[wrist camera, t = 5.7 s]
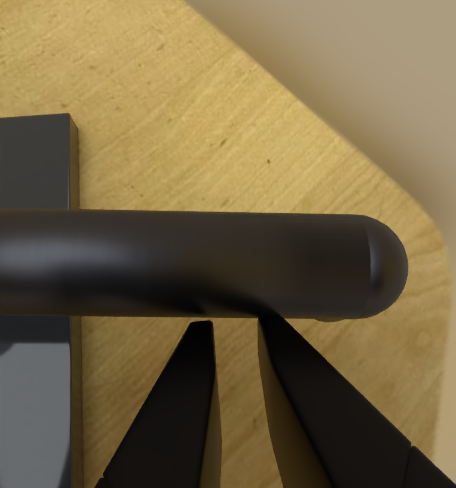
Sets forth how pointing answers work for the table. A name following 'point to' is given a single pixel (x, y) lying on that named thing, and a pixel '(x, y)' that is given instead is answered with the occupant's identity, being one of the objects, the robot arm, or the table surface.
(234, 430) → the table surface
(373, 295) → the spout
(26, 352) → the black flat block
